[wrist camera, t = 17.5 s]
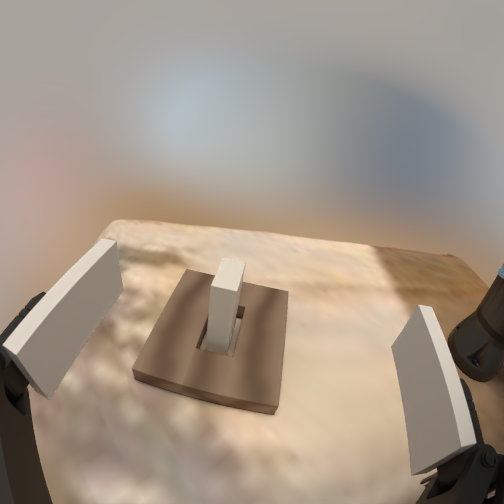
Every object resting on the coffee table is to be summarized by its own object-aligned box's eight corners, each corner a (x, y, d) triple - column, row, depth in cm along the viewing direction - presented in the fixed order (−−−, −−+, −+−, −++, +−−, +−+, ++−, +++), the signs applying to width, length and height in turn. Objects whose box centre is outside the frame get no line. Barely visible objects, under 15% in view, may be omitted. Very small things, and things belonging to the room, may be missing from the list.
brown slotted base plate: (285, 302, 49) (288, 291, 48) (273, 414, 31) (278, 406, 29) (186, 280, 50) (186, 269, 49) (135, 378, 31) (132, 368, 30)
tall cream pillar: (234, 325, 43) (245, 262, 37) (226, 355, 38) (237, 291, 31) (215, 321, 43) (222, 257, 37) (205, 350, 38) (211, 285, 32)
